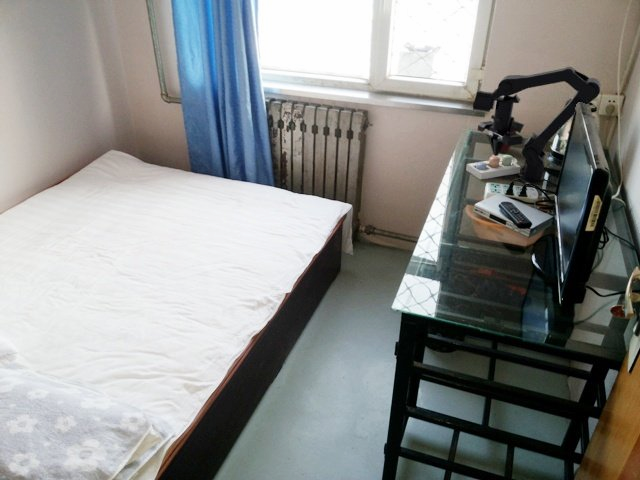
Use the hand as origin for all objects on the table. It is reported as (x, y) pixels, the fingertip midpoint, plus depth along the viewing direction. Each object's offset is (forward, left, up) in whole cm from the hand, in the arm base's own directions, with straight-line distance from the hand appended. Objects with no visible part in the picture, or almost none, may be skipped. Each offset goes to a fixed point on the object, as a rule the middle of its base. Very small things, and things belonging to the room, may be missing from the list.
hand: (495, 155), depth 189 cm
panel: (0, 0, -6) cm, 6 cm away
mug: (+18, -17, -7) cm, 26 cm away
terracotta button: (0, 0, -4) cm, 4 cm away
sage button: (0, -5, -4) cm, 7 cm away
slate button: (0, +6, -6) cm, 8 cm away
